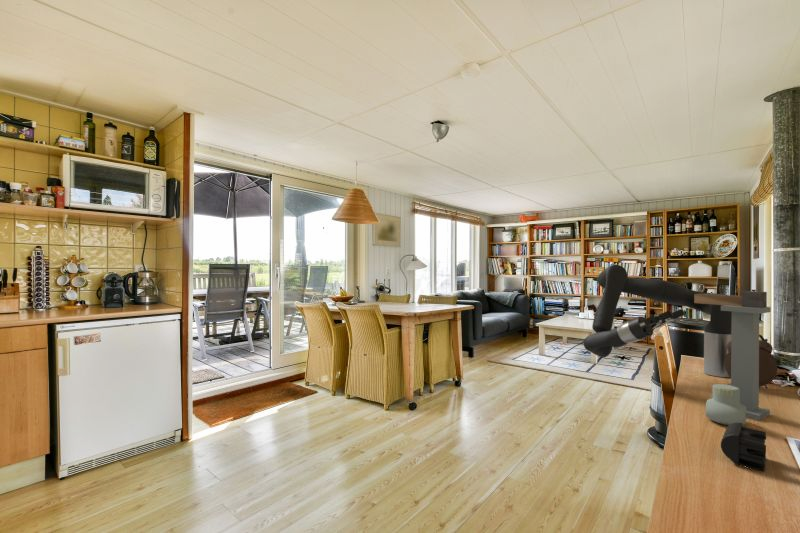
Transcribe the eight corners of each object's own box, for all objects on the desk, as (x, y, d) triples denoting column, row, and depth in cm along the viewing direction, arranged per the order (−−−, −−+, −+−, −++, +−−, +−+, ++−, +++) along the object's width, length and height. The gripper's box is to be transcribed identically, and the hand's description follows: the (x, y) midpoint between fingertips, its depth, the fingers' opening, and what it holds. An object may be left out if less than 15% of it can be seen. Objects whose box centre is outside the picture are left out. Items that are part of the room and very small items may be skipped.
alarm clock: (762, 385, 145) (762, 331, 145) (779, 391, 137) (779, 335, 137) (720, 383, 146) (720, 330, 146) (735, 389, 139) (735, 333, 139)
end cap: (725, 447, 93) (725, 419, 93) (765, 457, 88) (766, 428, 88) (720, 461, 86) (720, 431, 86) (764, 473, 81) (764, 441, 81)
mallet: (700, 302, 128) (700, 289, 128) (766, 307, 114) (766, 291, 114) (692, 303, 125) (692, 289, 125) (759, 307, 111) (759, 292, 111)
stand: (731, 405, 122) (732, 304, 122) (769, 414, 114) (770, 307, 114) (719, 410, 117) (720, 305, 117) (758, 420, 109) (759, 308, 110)
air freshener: (744, 432, 101) (744, 394, 101) (704, 423, 107) (705, 387, 107) (746, 421, 109) (746, 385, 109) (709, 413, 115) (709, 379, 115)
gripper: (619, 322, 141) (661, 303, 129) (639, 319, 148) (681, 301, 136) (629, 341, 137) (674, 324, 125) (649, 338, 145) (693, 321, 133)
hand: (677, 312), depth 131 cm, fingers open, 8 cm apart
